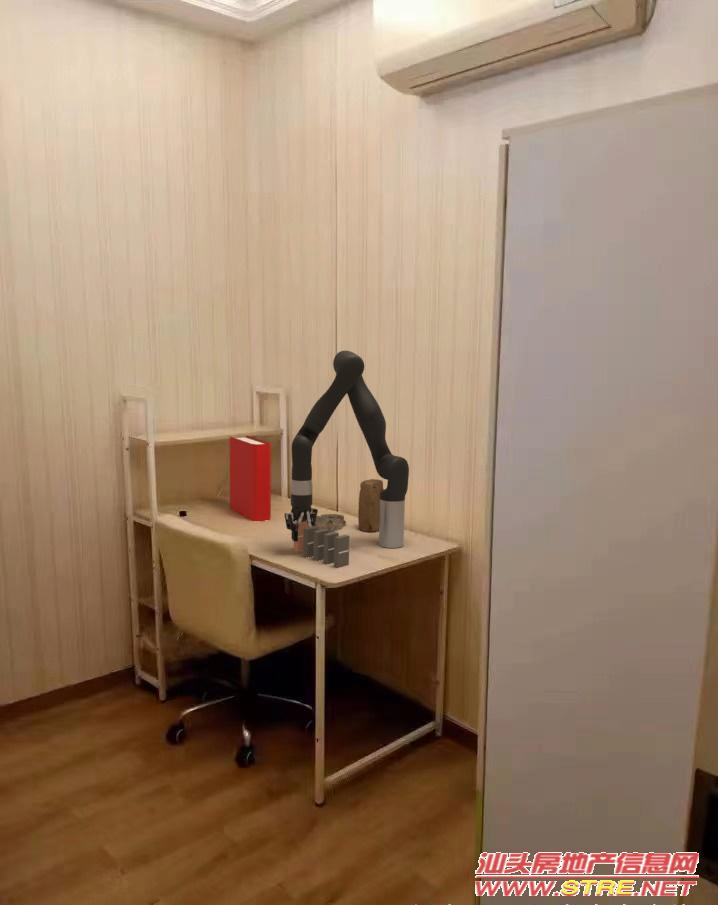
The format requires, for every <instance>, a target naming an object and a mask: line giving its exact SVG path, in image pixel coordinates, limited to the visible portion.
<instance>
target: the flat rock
mask: <svg viewBox="0 0 718 905" xmlns="http://www.w3.org/2000/svg"><path fill="white" fill-rule="evenodd" d="M312 521H313V518H312ZM346 523H347V521H346V520H345V516H344V515H342V514H337V513H325V514H321V515H317V518H316V523H315V525H314V526H316V527H318V530H322V529H327V530H328V533H329V532H336V531H338V529H339V530H342V529H343V526H344V527H345V526H346ZM312 527H313V526H312Z"/></svg>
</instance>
